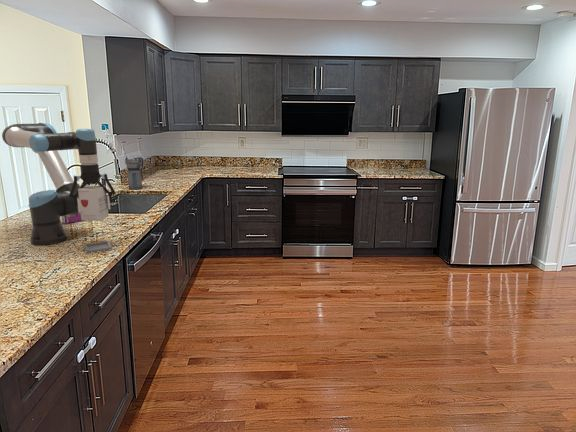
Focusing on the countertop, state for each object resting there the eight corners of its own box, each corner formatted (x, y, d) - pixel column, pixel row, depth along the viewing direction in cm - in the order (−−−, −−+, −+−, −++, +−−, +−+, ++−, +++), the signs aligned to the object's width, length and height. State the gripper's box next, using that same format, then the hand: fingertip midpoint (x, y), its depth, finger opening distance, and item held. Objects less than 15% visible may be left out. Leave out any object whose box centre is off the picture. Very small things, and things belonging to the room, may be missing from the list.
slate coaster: (87, 253, 179) (86, 250, 178) (84, 247, 187) (84, 244, 187) (111, 249, 184) (111, 246, 183) (108, 243, 192) (108, 240, 191)
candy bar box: (66, 224, 224) (61, 194, 220) (62, 222, 227) (57, 193, 223) (86, 220, 233) (82, 191, 228) (82, 218, 236) (78, 190, 231)
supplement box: (80, 220, 188) (76, 188, 184) (90, 215, 197) (87, 184, 193) (100, 221, 188) (96, 189, 184) (109, 216, 197) (106, 185, 193)
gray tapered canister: (145, 189, 321) (143, 157, 315) (127, 190, 317) (124, 157, 310) (145, 186, 330) (142, 155, 324) (127, 188, 326) (124, 156, 320)
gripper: (59, 166, 177) (65, 215, 182) (119, 163, 189) (123, 209, 194) (58, 164, 183) (64, 211, 189) (116, 161, 195) (120, 205, 201)
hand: (94, 210), depth 191 cm, fingers closed on supplement box, 12 cm apart
